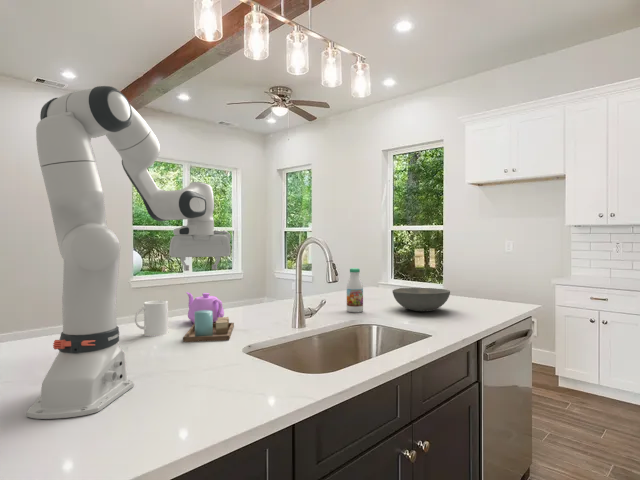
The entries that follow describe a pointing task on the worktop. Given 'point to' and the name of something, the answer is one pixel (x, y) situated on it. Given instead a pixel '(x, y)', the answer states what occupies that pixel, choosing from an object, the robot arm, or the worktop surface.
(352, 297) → the milk bottle
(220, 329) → the oak block
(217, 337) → the walnut tray
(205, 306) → the teapot
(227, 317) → the oak block
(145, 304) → the mug
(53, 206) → the robot arm
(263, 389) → the worktop surface
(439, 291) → the bowl
